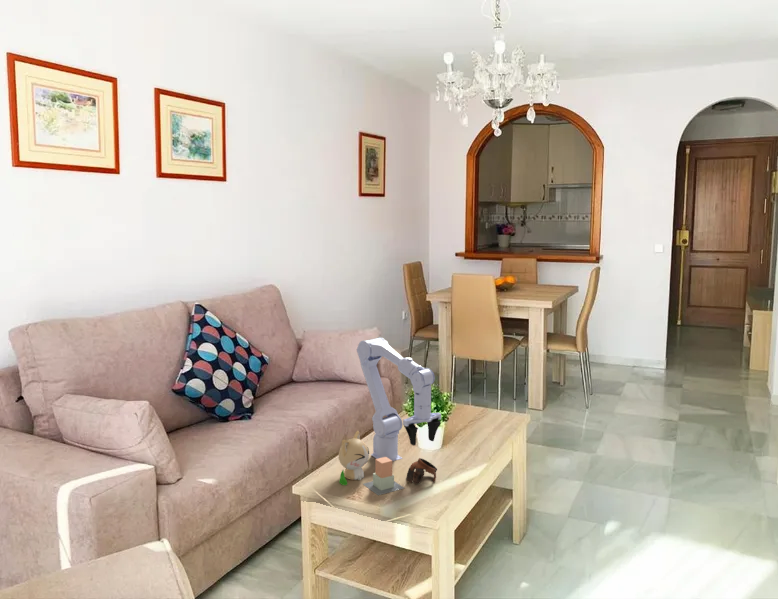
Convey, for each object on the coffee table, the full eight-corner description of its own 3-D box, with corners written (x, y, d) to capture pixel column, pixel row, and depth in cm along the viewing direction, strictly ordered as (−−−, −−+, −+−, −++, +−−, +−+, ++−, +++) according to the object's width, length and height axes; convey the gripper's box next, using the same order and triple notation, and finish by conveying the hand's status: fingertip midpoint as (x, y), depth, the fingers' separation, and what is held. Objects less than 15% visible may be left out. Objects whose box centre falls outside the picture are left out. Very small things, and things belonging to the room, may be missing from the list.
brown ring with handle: (406, 475, 222) (418, 454, 222) (430, 490, 220) (442, 469, 220) (399, 480, 210) (412, 458, 210) (424, 496, 208) (437, 474, 208)
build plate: (362, 485, 213) (362, 483, 213) (388, 478, 218) (388, 477, 218) (378, 496, 204) (378, 495, 204) (404, 489, 210) (404, 488, 210)
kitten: (355, 490, 209) (354, 445, 207) (328, 484, 214) (328, 440, 211) (376, 473, 222) (376, 431, 220) (351, 467, 227) (351, 426, 225)
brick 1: (375, 473, 211) (375, 459, 210) (385, 471, 213) (385, 456, 212) (381, 478, 208) (381, 463, 207) (392, 475, 210) (392, 460, 209)
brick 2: (373, 484, 212) (372, 473, 211) (386, 481, 215) (386, 469, 214) (380, 490, 208) (380, 478, 207) (394, 487, 210) (394, 475, 210)
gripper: (411, 410, 213) (411, 450, 215) (446, 403, 221) (446, 442, 223) (399, 405, 219) (399, 443, 221) (434, 398, 227) (434, 435, 229)
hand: (422, 442), depth 222 cm, fingers open, 7 cm apart
